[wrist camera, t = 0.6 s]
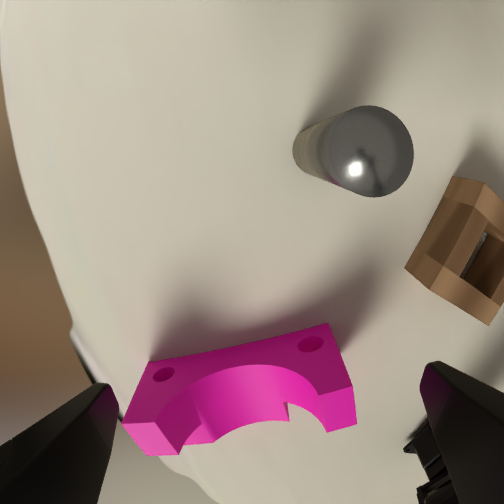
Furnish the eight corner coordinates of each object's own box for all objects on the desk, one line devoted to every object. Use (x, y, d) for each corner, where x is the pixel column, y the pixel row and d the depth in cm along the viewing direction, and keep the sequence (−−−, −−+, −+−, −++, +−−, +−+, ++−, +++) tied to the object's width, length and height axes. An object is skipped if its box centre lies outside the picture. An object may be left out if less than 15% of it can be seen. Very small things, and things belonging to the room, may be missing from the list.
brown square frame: (506, 226, 20) (535, 238, 17) (464, 304, 23) (488, 326, 19) (452, 176, 19) (484, 183, 16) (404, 268, 22) (429, 289, 18)
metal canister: (349, 142, 19) (426, 137, 10) (327, 184, 20) (389, 213, 10) (306, 118, 19) (353, 88, 9) (283, 161, 19) (312, 168, 10)
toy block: (177, 410, 26) (161, 472, 19) (148, 360, 25) (121, 423, 17) (338, 379, 25) (358, 443, 18) (327, 321, 23) (352, 386, 16)
